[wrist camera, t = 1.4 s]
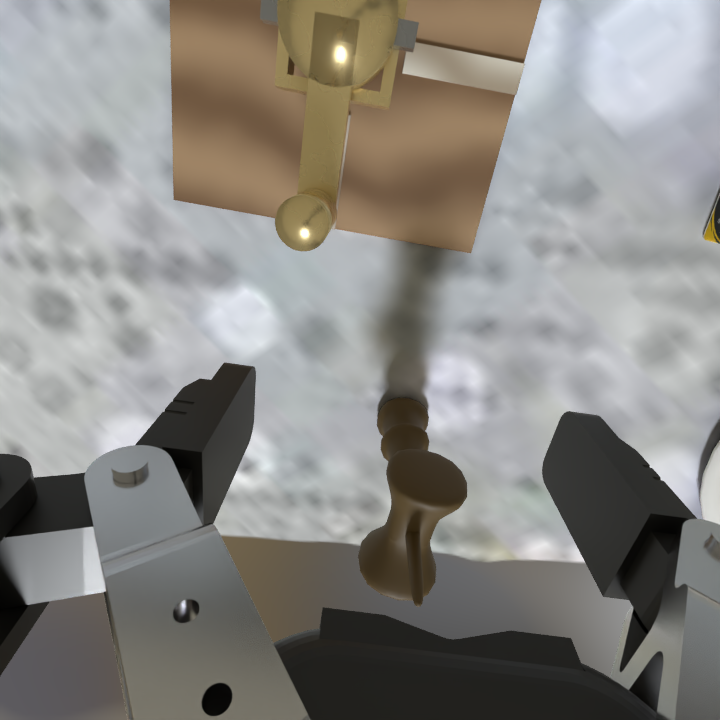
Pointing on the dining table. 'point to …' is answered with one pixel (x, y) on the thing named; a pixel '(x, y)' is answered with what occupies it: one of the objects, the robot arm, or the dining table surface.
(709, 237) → the medicine bottle
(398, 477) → the kendama
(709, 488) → the plated food
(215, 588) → the robot arm
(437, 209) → the post base
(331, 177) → the gold piece
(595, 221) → the dining table surface
